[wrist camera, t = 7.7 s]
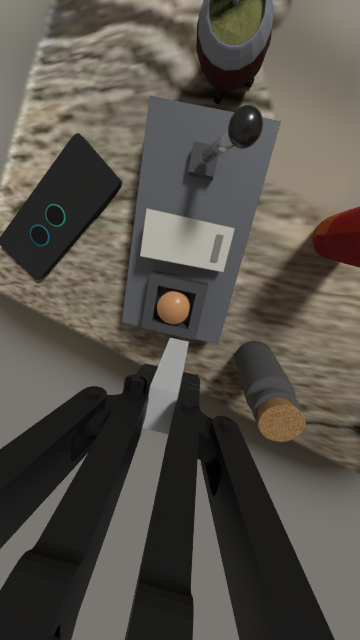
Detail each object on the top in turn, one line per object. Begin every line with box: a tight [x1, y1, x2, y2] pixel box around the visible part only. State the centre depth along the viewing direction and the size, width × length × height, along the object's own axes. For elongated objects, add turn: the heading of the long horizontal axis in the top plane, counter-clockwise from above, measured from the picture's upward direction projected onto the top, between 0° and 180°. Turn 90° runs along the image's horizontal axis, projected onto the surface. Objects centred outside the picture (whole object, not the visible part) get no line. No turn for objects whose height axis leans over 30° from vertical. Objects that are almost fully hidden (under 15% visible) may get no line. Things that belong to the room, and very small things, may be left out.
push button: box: [157, 289, 190, 324], centre depth 30 cm, size 4×4×2 cm
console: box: [122, 96, 281, 344], centre depth 30 cm, size 14×26×8 cm, turn 169°
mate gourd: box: [197, 0, 274, 104], centre depth 20 cm, size 8×8×15 cm
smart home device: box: [0, 133, 122, 279], centre depth 34 cm, size 8×2×20 cm
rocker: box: [140, 209, 235, 272], centre depth 27 cm, size 10×5×1 cm, turn 79°
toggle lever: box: [202, 105, 263, 163], centre depth 20 cm, size 2×2×10 cm
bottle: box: [236, 341, 305, 442], centre depth 31 cm, size 6×6×15 cm
